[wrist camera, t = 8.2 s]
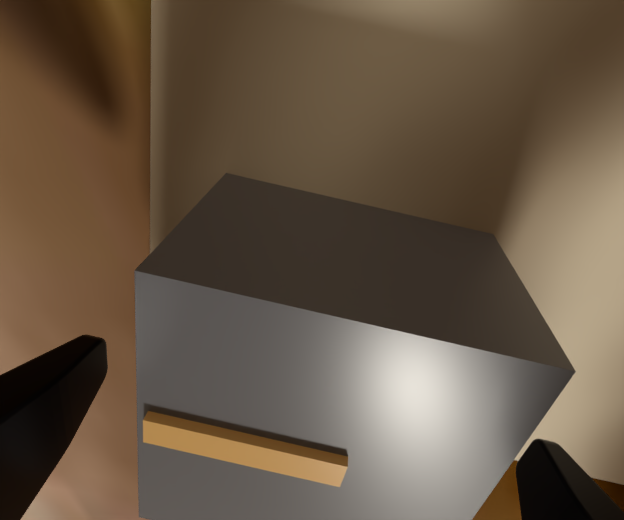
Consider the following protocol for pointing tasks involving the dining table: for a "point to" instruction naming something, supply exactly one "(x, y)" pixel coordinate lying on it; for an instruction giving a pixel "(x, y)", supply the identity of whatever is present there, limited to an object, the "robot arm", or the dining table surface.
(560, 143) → the panel
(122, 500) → the dining table surface
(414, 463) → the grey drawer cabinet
